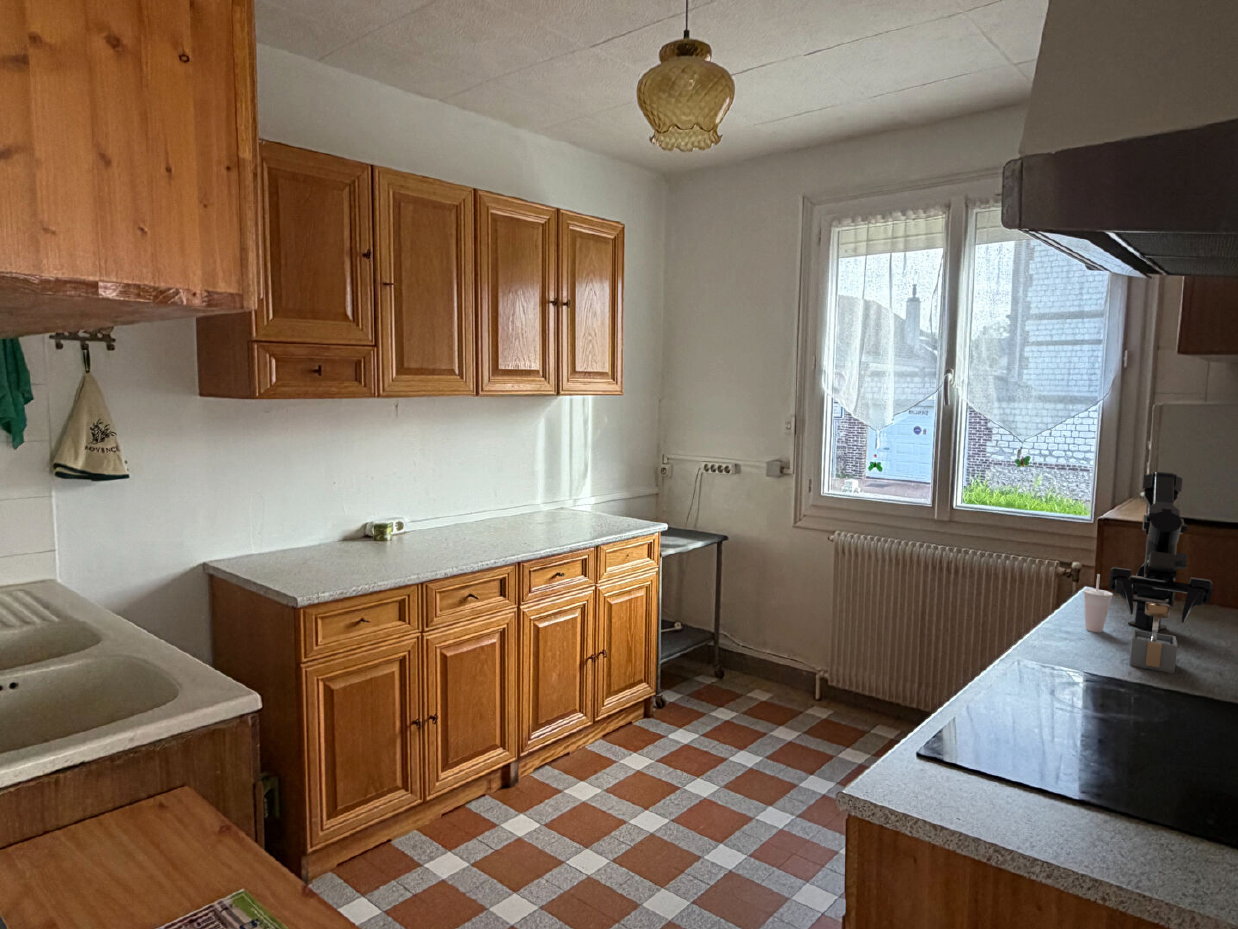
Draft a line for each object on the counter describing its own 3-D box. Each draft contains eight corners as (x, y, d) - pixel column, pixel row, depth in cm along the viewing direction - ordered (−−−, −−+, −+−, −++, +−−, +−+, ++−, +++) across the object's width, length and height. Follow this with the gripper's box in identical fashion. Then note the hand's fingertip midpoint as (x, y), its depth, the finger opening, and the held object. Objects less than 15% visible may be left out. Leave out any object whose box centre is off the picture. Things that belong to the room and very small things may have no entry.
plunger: (1136, 638, 179) (1140, 598, 178) (1169, 644, 176) (1174, 603, 175) (1136, 645, 174) (1141, 604, 173) (1171, 651, 170) (1176, 610, 169)
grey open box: (1129, 655, 181) (1132, 629, 180) (1172, 662, 176) (1175, 636, 176) (1129, 666, 173) (1132, 639, 172) (1174, 675, 169) (1177, 647, 168)
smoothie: (1101, 626, 201) (1107, 572, 200) (1114, 635, 195) (1120, 578, 194) (1074, 625, 202) (1080, 570, 200) (1086, 633, 196) (1092, 577, 194)
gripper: (1114, 531, 180) (1108, 589, 172) (1217, 543, 170) (1216, 605, 162) (1111, 559, 188) (1105, 616, 180) (1209, 572, 178) (1208, 633, 170)
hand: (1156, 617), depth 173 cm, fingers open, 9 cm apart
